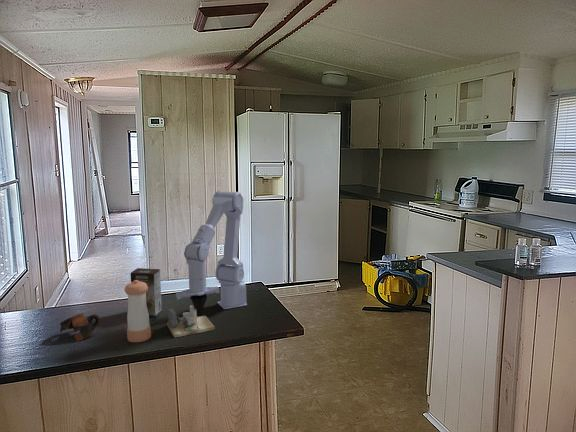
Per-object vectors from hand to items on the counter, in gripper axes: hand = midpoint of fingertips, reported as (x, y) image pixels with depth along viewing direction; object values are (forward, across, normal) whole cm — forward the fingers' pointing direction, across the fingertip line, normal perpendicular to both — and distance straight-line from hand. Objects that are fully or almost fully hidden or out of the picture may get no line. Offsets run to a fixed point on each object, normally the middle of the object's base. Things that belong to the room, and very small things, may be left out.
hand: (198, 315), depth 151 cm
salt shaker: (+3, -20, -2) cm, 21 cm away
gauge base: (+3, -4, -2) cm, 5 cm away
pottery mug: (+3, -37, +9) cm, 38 cm away
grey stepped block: (+1, -4, -1) cm, 5 cm away
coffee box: (+3, -14, +19) cm, 24 cm away
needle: (+1, -5, -5) cm, 7 cm away
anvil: (+3, -9, 0) cm, 9 cm away
